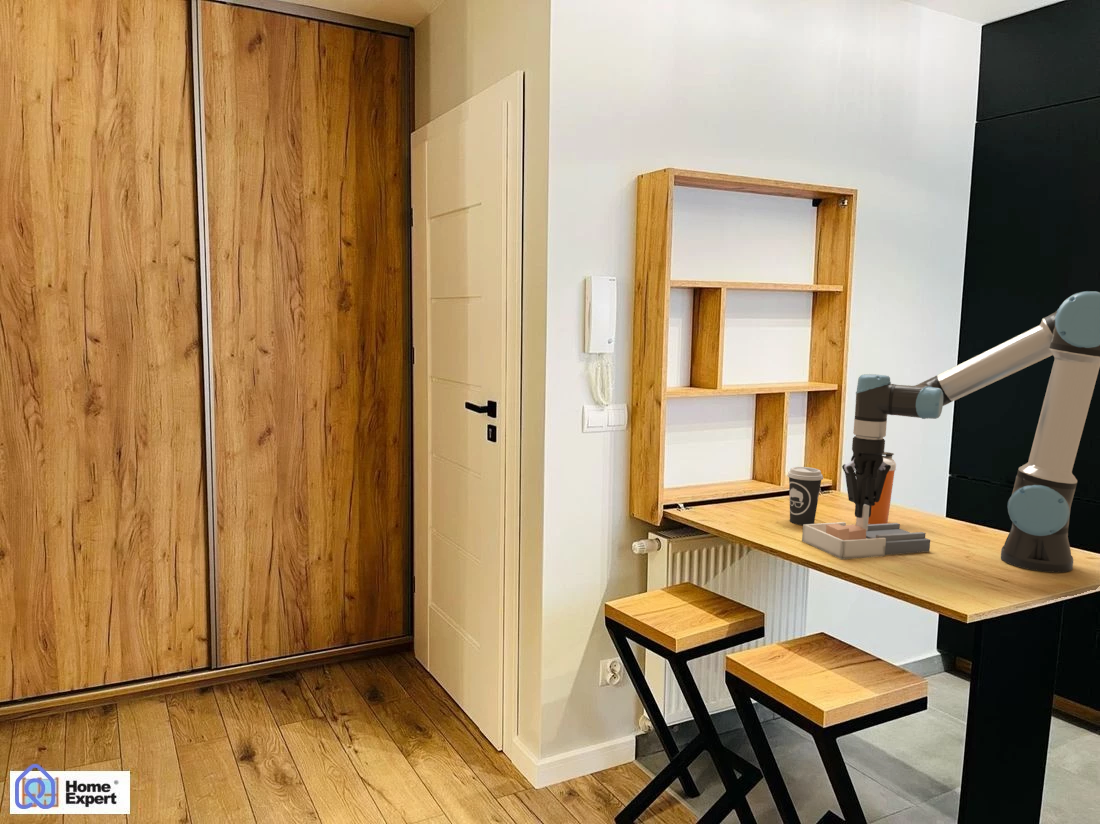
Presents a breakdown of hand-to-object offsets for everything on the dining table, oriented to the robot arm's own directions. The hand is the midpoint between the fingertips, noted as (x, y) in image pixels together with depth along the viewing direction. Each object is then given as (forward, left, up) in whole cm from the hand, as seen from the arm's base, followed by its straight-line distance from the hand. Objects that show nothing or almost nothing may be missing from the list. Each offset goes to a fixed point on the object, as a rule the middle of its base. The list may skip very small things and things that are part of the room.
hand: (861, 529), depth 213 cm
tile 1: (0, +6, -1) cm, 6 cm away
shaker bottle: (+21, -21, -5) cm, 30 cm away
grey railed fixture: (0, -8, -5) cm, 9 cm away
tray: (0, +5, -5) cm, 7 cm away
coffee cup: (+25, 0, -5) cm, 25 cm away
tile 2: (0, +3, -2) cm, 4 cm away
